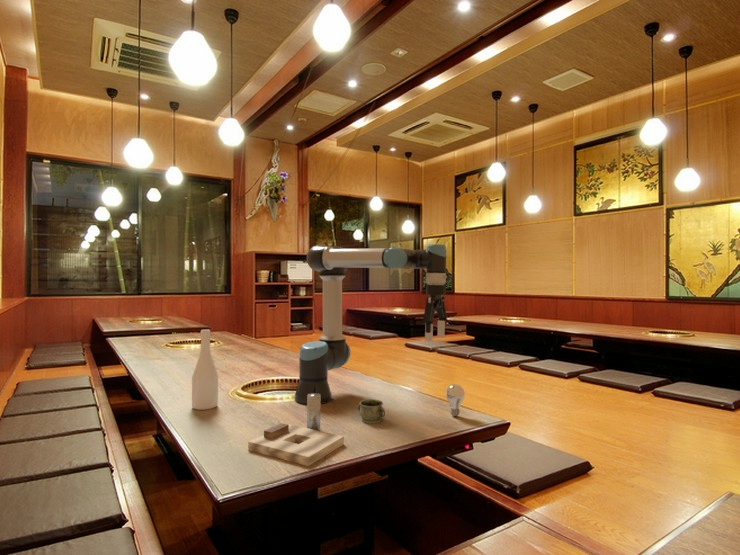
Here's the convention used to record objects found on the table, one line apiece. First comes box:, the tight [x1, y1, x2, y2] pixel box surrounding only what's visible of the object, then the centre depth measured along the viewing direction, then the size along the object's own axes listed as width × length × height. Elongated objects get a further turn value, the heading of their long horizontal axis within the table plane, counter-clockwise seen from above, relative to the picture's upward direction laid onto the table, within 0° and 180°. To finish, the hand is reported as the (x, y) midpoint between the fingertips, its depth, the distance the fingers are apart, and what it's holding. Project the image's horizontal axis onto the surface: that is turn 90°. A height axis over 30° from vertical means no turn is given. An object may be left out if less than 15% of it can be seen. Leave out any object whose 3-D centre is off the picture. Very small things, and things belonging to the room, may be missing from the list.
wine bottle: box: [191, 329, 219, 411], centre depth 174 cm, size 10×10×30 cm
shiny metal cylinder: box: [306, 393, 322, 431], centre depth 148 cm, size 4×4×12 cm
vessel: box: [357, 398, 386, 424], centre depth 161 cm, size 12×9×6 cm
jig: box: [247, 422, 345, 467], centre depth 134 cm, size 22×18×4 cm
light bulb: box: [445, 383, 465, 418], centre depth 165 cm, size 7×7×12 cm
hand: (435, 339), depth 173 cm, fingers open, 13 cm apart
